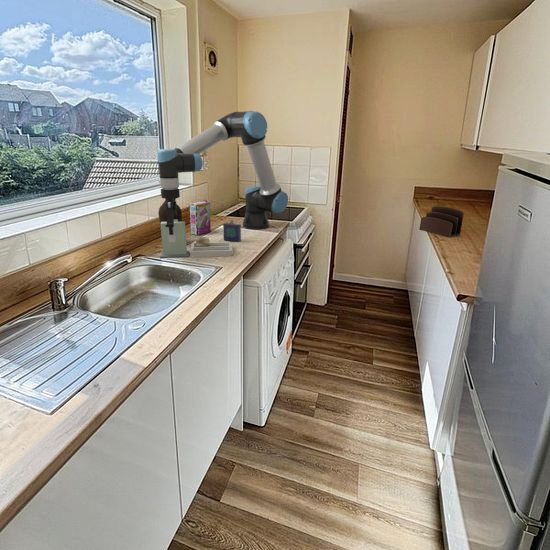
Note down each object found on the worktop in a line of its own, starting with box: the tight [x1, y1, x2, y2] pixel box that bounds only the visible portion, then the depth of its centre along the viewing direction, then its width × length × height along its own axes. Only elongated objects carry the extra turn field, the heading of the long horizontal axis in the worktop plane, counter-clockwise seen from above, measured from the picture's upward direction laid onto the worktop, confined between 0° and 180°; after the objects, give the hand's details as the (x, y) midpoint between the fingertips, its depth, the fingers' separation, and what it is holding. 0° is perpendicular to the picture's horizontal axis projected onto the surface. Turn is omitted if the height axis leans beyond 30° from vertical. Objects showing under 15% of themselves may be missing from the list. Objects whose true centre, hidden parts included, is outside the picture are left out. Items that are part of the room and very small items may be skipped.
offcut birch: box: [195, 236, 210, 246], centre depth 172 cm, size 6×4×3 cm
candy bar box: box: [189, 201, 212, 236], centre depth 199 cm, size 11×5×16 cm, turn 149°
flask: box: [222, 219, 242, 243], centre depth 187 cm, size 9×3×11 cm, turn 75°
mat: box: [159, 250, 190, 259], centre depth 166 cm, size 12×8×1 cm, turn 98°
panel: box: [159, 221, 188, 255], centre depth 163 cm, size 10×3×14 cm, turn 98°
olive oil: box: [158, 199, 183, 229], centre depth 177 cm, size 11×11×25 cm
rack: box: [189, 241, 233, 258], centre depth 171 cm, size 18×14×2 cm
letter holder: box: [418, 205, 464, 238], centre depth 211 cm, size 10×20×14 cm, turn 34°
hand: (173, 237), depth 163 cm, fingers open, 13 cm apart
